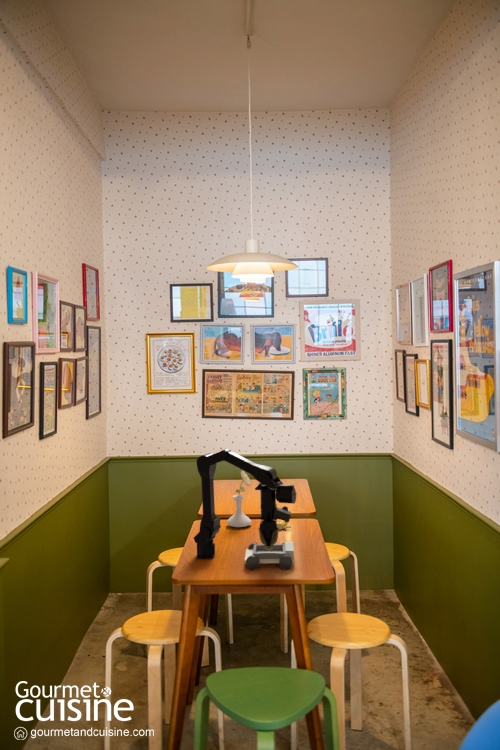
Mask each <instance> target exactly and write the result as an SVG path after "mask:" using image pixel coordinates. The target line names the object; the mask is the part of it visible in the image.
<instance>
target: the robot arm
mask: <svg viewBox="0 0 500 750" xmlns="http://www.w3.org/2000/svg"><path fill="white" fill-rule="evenodd" d="M223 461H224V462H227V463H228V464H229V465H232V466H234V467H236V468H238V469H240V470H241V471H244V472H245V473H247V474H250V476H252V477H253V478H254V479H255V480H256V481H257V482H258V485H256V487H255V488H254V490H255V491H260V522H259V528H260V531H261V532H262V535H263V537H264V539H265V542H266V544H267V546H270V545H271V539H272V534H273V532H274V531H276V530H277V522H278V519H279V520H280V521H283V522H284V521H285V522H287V523H289V522H290V519H291V516H292V512H291V511H289V507H288V506H285V505H284V506H282V507H278V505H277V502H278V503H281V504H293V505H295V504H296V501H297V491H296V488H295V484H284V483H283V482H282V480H281V479H280V478H279V476H278V473H277V472H278V471H277V470H276V469H275V468H273V467H271V466H267V465H264V464H259V463H255V462H253V461H252V460H250V459H247V458H246V457H243V456H242V455H240V454H239V453H236V452H234V451H232V450H231V449H229V448H225V449H222V450H220V451H218V452H215V453H210V452H209V453H205V454H203V455H200V456H199V457H198V458H197V459H196V467H197V472H198V474H199V476H200V478H201V480H200V481H201V499H202V502H201V503H202V516H201V520H200V522H199V523H200V524H199V530H198V531H199V532H197V533H196V535H194V537H193V540H194V543H195V544H196V557H195V558H196V559H214V556H215V555H216V543H214V539H215V538H216V536H217V534H218V533H219V532H220V529H221V528H222V525H221V517H217V515H216V509H215V507H216V506H215V505H216V504H215V484H214V477H215V473H216V470H217V464H218V463H220V462H223Z"/></svg>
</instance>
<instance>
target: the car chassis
mask: <svg viewBox="0 0 500 750" xmlns="http://www.w3.org/2000/svg"><path fill="white" fill-rule="evenodd" d="M294 548H295V547H294V541H285V542H282V543H279V544H277V543H275V544H274V548H273V549H270V550H268V549H265V548H264V544H262V543H260V544H259V543H257V542H252V543H250V544H249V545H248V548H246V549H245V556H244V564H245V565H246V567H247V569H248V570H250V571H256V570H257V569H258V568H259V566H260V564H278V565H279V567H280V568H281V569H282V570H285V571H287V570H289V569H291V568H292V566H293V564H295V551H294Z"/></svg>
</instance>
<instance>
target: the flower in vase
mask: <svg viewBox="0 0 500 750" xmlns="http://www.w3.org/2000/svg"><path fill="white" fill-rule="evenodd" d="M240 476H241V479H242V481H241V482H240V486H239V489H237V488H236V490H235V493H237V494H234V495H233V496H232V497H233V499H234V501H235V507H236V509H235V510H236V511H235V513H234V514H233V515H231V516H230V517H229V518H228V519H227V520H226V524H227V526H229V527H233V528H245V527H247V526H250V525H251V524H252V520H251V519H250V517H248V516H247V515H246V514H245V513H244V512H243V510H242V503H243V499H244V497H245V495H243V494H240V493H241V492H242V493H245V491H246V488H245V487H243V486H242V485H243V483H244V484H245V485H246V486H247V487H251V484H252V483H251V479H250V478H249V476H248V473H246V471H244V470H241V471H240Z"/></svg>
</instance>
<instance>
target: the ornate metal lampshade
mask: <svg viewBox="0 0 500 750" xmlns="http://www.w3.org/2000/svg"><path fill="white" fill-rule="evenodd" d="M278 529H279V528H277V530H276V531H274V532H273V534H272V539H271V545H270V546H267V544H266V542H265V539H264V537H263V535H262V532H261V531H260V527H258V532H259V539H260V542H261V544H264V548H265V549H268V550H270V549H273V548H274V544H277V542H278V539H279V530H278Z"/></svg>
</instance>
